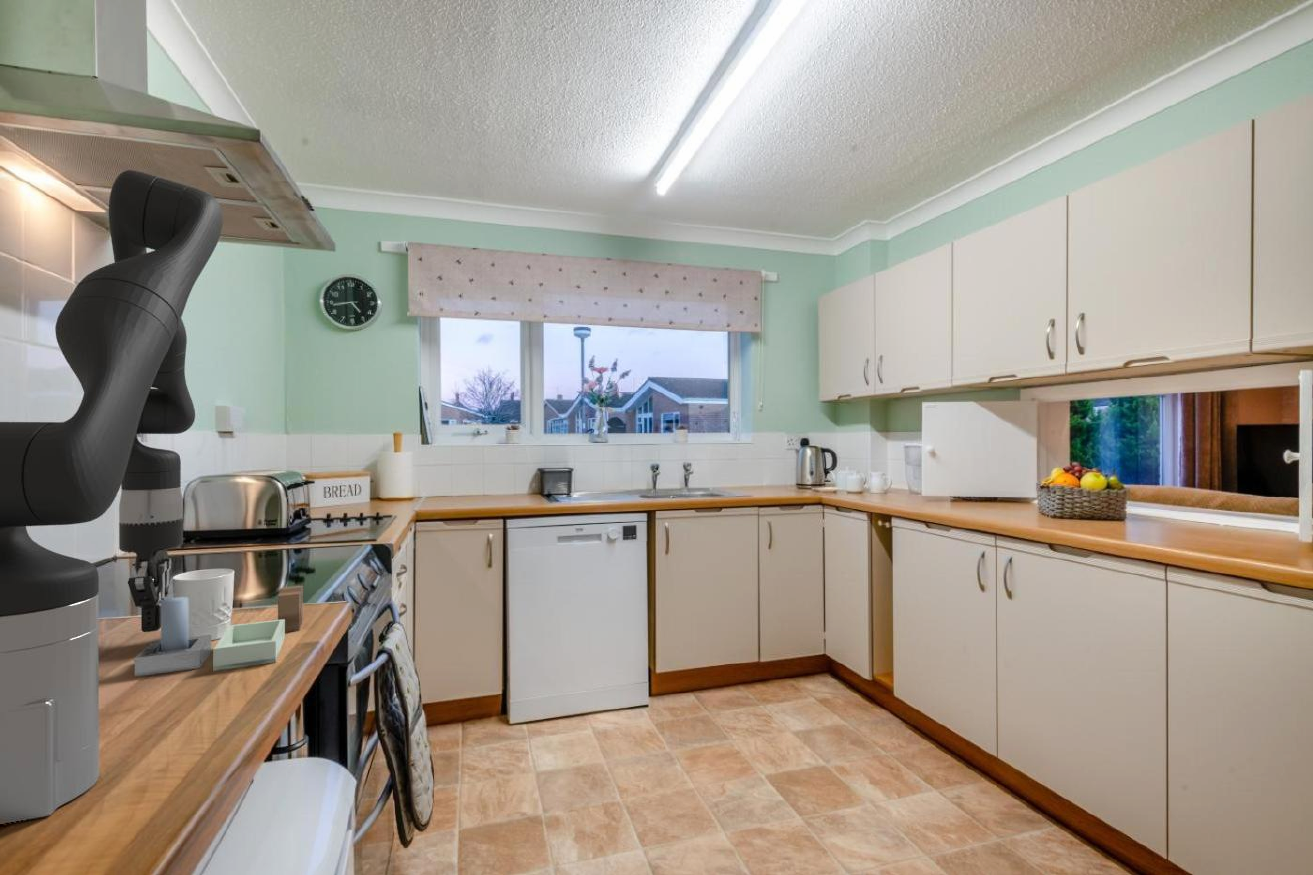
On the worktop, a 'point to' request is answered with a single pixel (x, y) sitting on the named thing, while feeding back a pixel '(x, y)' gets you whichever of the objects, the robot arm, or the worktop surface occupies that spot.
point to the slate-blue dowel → (174, 624)
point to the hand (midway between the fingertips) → (152, 629)
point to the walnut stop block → (291, 607)
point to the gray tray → (172, 657)
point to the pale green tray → (249, 645)
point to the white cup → (207, 600)
